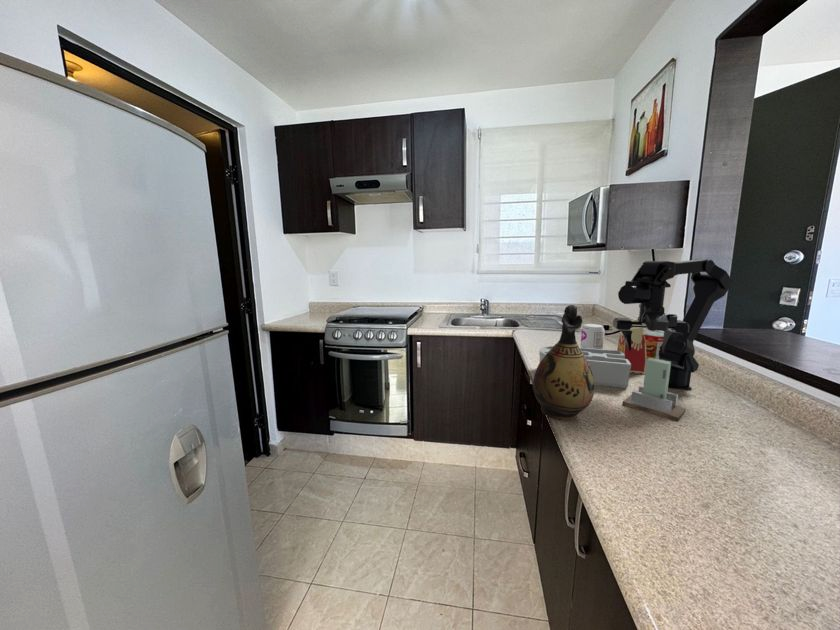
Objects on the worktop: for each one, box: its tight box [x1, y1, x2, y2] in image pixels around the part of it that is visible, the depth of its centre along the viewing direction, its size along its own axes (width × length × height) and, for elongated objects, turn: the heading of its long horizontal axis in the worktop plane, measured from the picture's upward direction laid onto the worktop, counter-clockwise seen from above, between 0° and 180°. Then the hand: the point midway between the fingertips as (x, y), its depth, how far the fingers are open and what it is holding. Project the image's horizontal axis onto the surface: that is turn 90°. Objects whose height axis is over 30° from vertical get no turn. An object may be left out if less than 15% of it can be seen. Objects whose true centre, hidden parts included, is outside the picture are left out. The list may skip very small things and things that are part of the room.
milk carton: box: [616, 318, 647, 375], centre depth 122 cm, size 9×9×20 cm
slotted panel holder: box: [621, 385, 687, 422], centre depth 91 cm, size 13×8×4 cm, turn 40°
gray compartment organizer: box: [538, 345, 631, 389], centre depth 117 cm, size 17×28×9 cm, turn 67°
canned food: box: [643, 331, 664, 360], centre depth 129 cm, size 8×8×12 cm
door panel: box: [642, 358, 671, 399], centre depth 90 cm, size 3×5×13 cm, turn 41°
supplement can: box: [579, 323, 606, 349], centre depth 132 cm, size 8×8×15 cm
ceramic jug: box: [532, 304, 595, 421], centre depth 88 cm, size 17×15×30 cm
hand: (646, 351), depth 101 cm, fingers open, 9 cm apart
